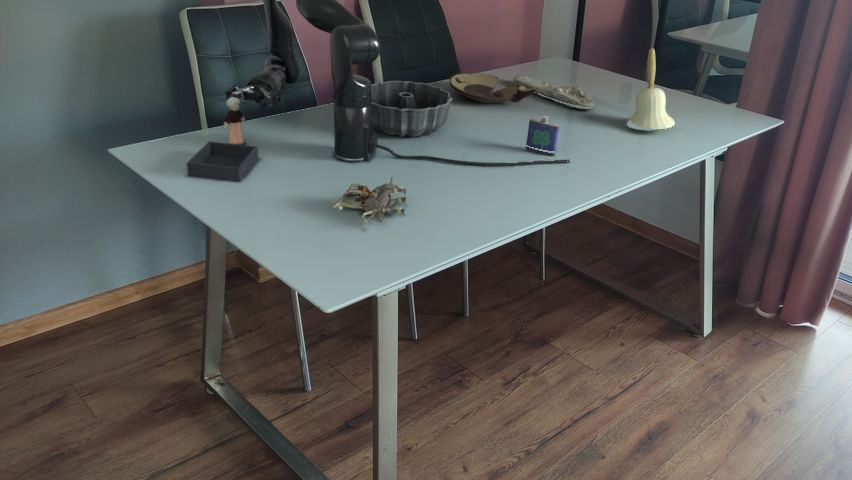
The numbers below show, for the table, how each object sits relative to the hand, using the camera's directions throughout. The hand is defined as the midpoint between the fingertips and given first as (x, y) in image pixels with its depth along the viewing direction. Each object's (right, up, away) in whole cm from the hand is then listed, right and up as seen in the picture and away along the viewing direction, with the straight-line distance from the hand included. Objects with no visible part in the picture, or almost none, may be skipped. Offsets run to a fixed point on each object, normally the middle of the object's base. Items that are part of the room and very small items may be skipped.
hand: (246, 104), depth 201 cm
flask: (+79, -11, +13) cm, 81 cm away
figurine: (+37, -31, -29) cm, 57 cm away
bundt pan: (+40, -3, +19) cm, 44 cm away
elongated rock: (+85, +16, +58) cm, 105 cm away
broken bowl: (+64, +12, +48) cm, 81 cm away
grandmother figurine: (-1, -12, -4) cm, 12 cm away
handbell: (+115, +1, +40) cm, 122 cm away
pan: (0, -19, -17) cm, 26 cm away
